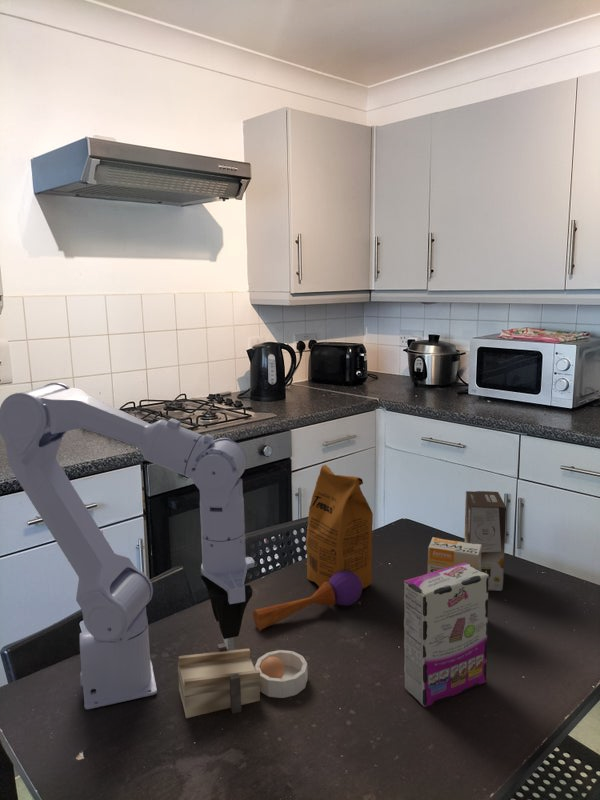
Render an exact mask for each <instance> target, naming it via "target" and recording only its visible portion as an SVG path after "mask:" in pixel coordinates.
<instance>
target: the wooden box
mask: <svg viewBox="0 0 600 800" xmlns="http://www.w3.org/2000/svg"><path fill="white" fill-rule="evenodd" d="M250 655H251V649H250V648H241V649H234V650H231V651H228V650H227V647H226V645H225V642H223V643H219V644H218V643H217V651H214V652H204V653H195V654H186V655H179V656H178V658H177V659H178V660H177V671H178V672H177V673H178V688H179V689H178V690H179V695H180V699H181V703H182V706H183V707H182V708H183V710H184V711H183V712H184V714H185V715H184V716H185V718H186V719H189V718H192V717H193V718H194V717H196V716H200V715H201V716H202V715H205V714H209V713H214V712H220V711H222V710H226V709H227V710H228V709H230V711H231V713H232V714H233V715H234V714H237V713H241V712H242V706H243V705H247V704H251V703H255V702H259V701H260V700H261V692H260V684H259V682H260V671H259V670H255V665H254V664H253V661H252V659H251V658H250V657H251V656H250Z"/></svg>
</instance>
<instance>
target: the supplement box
mask: <svg viewBox="0 0 600 800" xmlns="http://www.w3.org/2000/svg"><path fill="white" fill-rule="evenodd" d="M481 548H482V545H481V544H474V543H467V542H464V541H459V540H454V539H453V540H451V539H446V538H440V537H433V536H432V538H431V541H430V543H429V545H428V547H427V549H428V550H427V572H426V574H429V573H432V572H435V571H439V570H442V569H445V568H449V567H452V566H455V565H459V564H462V563H468V564H470V565H472V567H475V568H477V569H479V570H480V567H481Z"/></svg>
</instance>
